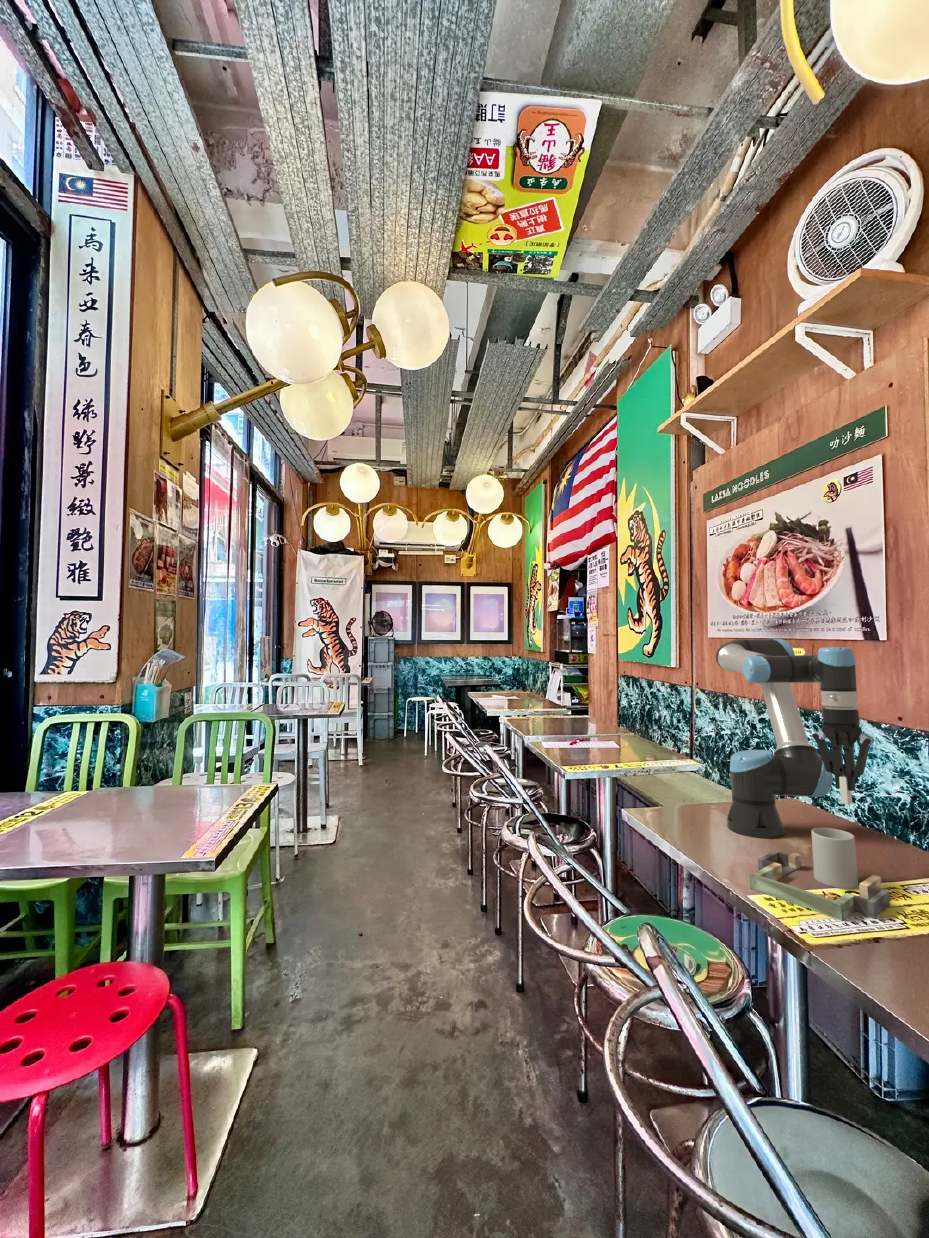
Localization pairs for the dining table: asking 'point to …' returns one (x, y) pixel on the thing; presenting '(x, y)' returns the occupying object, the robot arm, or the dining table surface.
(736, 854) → the dining table surface
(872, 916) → the grey-green u-shaped bracket
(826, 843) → the mug
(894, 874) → the dining table surface
